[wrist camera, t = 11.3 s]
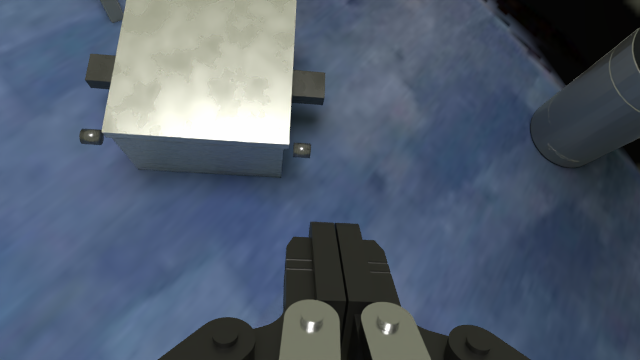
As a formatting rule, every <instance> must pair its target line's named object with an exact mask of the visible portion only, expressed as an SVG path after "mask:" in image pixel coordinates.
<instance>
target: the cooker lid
mask: <svg viewBox="0 0 640 360" xmlns="http://www.w3.org/2000/svg"><path fill="white" fill-rule="evenodd" d="M295 17H296V0H126V6H125V11H124V16H123V21H122V27H121V32H120V37H119V43H118V48H117V53H116V58H115V64H114V69H113V74H112V79H111V85H110V90H109V95H108V101H107V106H106V111H105V116H104V122H103V127H102V133H103V135H104V136H105V137H107V138H123V139H138V140H154V141H169V142H185V143H200V144H216V145H232V146H247V147H263V148H278V149H289V136H290V116H291V96H292V76H293V57H294V37H295Z"/></svg>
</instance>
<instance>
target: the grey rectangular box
mask: <svg viewBox="0 0 640 360" xmlns="http://www.w3.org/2000/svg"><path fill="white" fill-rule="evenodd" d="M115 58H116V56H112V55H100V54H90V59H89V63H88V68H87V73H86V78H85V80H86V82H87V83H88V84H89V86H90V87H91V88H100V89H110V85H111V79H112V74H113V69H114V64H115ZM324 95H325V73H323V72H310V71H298V70H293V76H292V96H291V103H303V104H317V105H323V102H324ZM112 139H113V140H114V141H115V142H116V144H117V145H118V146H119V147H120V148H121V150H122V151H123V152H124V153H125V154H126V155H127V157H128V158H129V159H130V160H131V161H132V163H133V164H134V165H135V166H136V167H137V168H138V169H142V170H159V171H176V172H194V173H211V174H228V175H245V176H262V177H280V178H281V171H282V159H283V149H278V148H263V147H247V146H232V145H216V144H200V143H185V142H169V141H154V140H138V139H123V138H112ZM103 140H104V135H103V133H102V130H94V129H82V130H81V131H80V142H81V143H82V144H93V145H102V143H103ZM310 152H311V144H308V143H294V148H293V157H301V158H310Z"/></svg>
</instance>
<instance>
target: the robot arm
mask: <svg viewBox="0 0 640 360" xmlns="http://www.w3.org/2000/svg"><path fill="white" fill-rule="evenodd" d="M531 135H532V139H533V141H534V143H535V145H536V147H537V148H538V150H539V151H540V152H541V153H542V154H543V155H544V156H545V157H546V158H547V159H549V160H550V161H551V162H553V163H555V164H558V165H560V166H564V167H572V168H574V167H580V166H583V165H585V164H587V163H589V162H591V161H593V160H595V159H597V158H599V157H601V156H603V155H606V154H608V153H610V152H612V151H614V150H616V149H618V148H620V147H622V146H624V145H626V144H628V143H630V142H632V141H634V140H636V139H638V138H639V137H640V28H639V29H637V30H636V31H635V32H634V33H632V34H631V35H630V36H629V37H627V38H626V39H625V40H624V41H622V42H621V43H620V44H619V45H617V46H616V47H615V48H614V49H613V50H611V51H610V52H609V53H607V54H606V55H605V56H604V57H602V58H601V59H600V60H599V61H597V62H596V63H595V64H594V65H592V66H591V67H590V68H589V69H587V70H586V71H585V72H583V73H582V74H581V75H580V76H579V77H577V78H576V79H575V80H573V81H572V82H571V83H570V84H569V85H567V86H566V87H565V88H563V89H562V90H561V91H559V92H558V93H557V94H556V95H554V96H553V97H552V98H551V99H549V100H548V101H547V102H546V103H544V104H543V105H542V106H541V107H539V108H538V109H537V111H536V112H535V113H534V115H533V117H532V120H531ZM283 297H284V299H283V314H282V315H281V316H280V318H279V319H277V320H276V321H275V322H273V323H271V324H269V325H266V326H263V327H259V328H255V329H252V327H251V326H250V325H249V324H247V323H246V322H244V321H243V320H240V319H237V318H230V317H225V318H218V319H215V320H212V321H210V322H208V323H206V324H205V325H203V326H202V327H201V328H199V329H198V330H197V331H195V332H194V333H193V334H191V335H190V336H189V337H187V338H186V339H185V340H183V341H182V342H181V343H179V344H178V345H177V346H175V347H174V348H173V349H171V350H170V351H169V352H167V353H166V354H165V355H163V356H162V357H161V358H159V359H158V360H530V359H529V358H527V357H526V356H524V355H523V354H522V353H520V352H519V351H517V350H516V349H514V348H513V347H511V346H510V345H508V344H507V343H505V342H504V341H502V340H501V339H500V338H498V337H497V336H495V335H494V334H492V333H491V332H489V331H487V330H485V329H483V328H480V327H477V326H473V325H461V326H458V327H456V328H454V329H453V330H452V331H451V332H450V334H449V336H446V335H442V334H439V333H435V332H432V331H429V330H426V329H423V328H421V327H419V326H417V325H416V323H415V321H414V319H413V317H412V316H411V314H410V313H409V312H408V311H407V310H405V309H404V308H402V307H401V305H400V302H399V298H398V295H397V292H396V289H395V285H394V282H393V279H392V276H391V274H390V269H389V266H388V264H387V259H386V256H385V253H384V250H383V249H382V248H381V247H380V246H379V245H378V244H377V243H376V242H375V241H374V240H362V236H361V232H360V228H359V225H358V224H350V223H335V224H334V223H328V222H310V228H309V238H308V237H293V238H292V240H291V241H290V242H289V244H288V245H287V248H286V261H285V275H284V296H283Z"/></svg>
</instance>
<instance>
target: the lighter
mask: <svg viewBox="0 0 640 360" xmlns="http://www.w3.org/2000/svg"><path fill="white" fill-rule="evenodd" d="M100 1H101V3H102V5H103V7H104V9H105V11H106V13H107V14H108V16H109V18H110V20H111V22H113V23H114V22H117V21H120V20H123V16H124V14H123V12H122V9H121V7H120V5H119V3H118V1H117V0H100Z"/></svg>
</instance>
